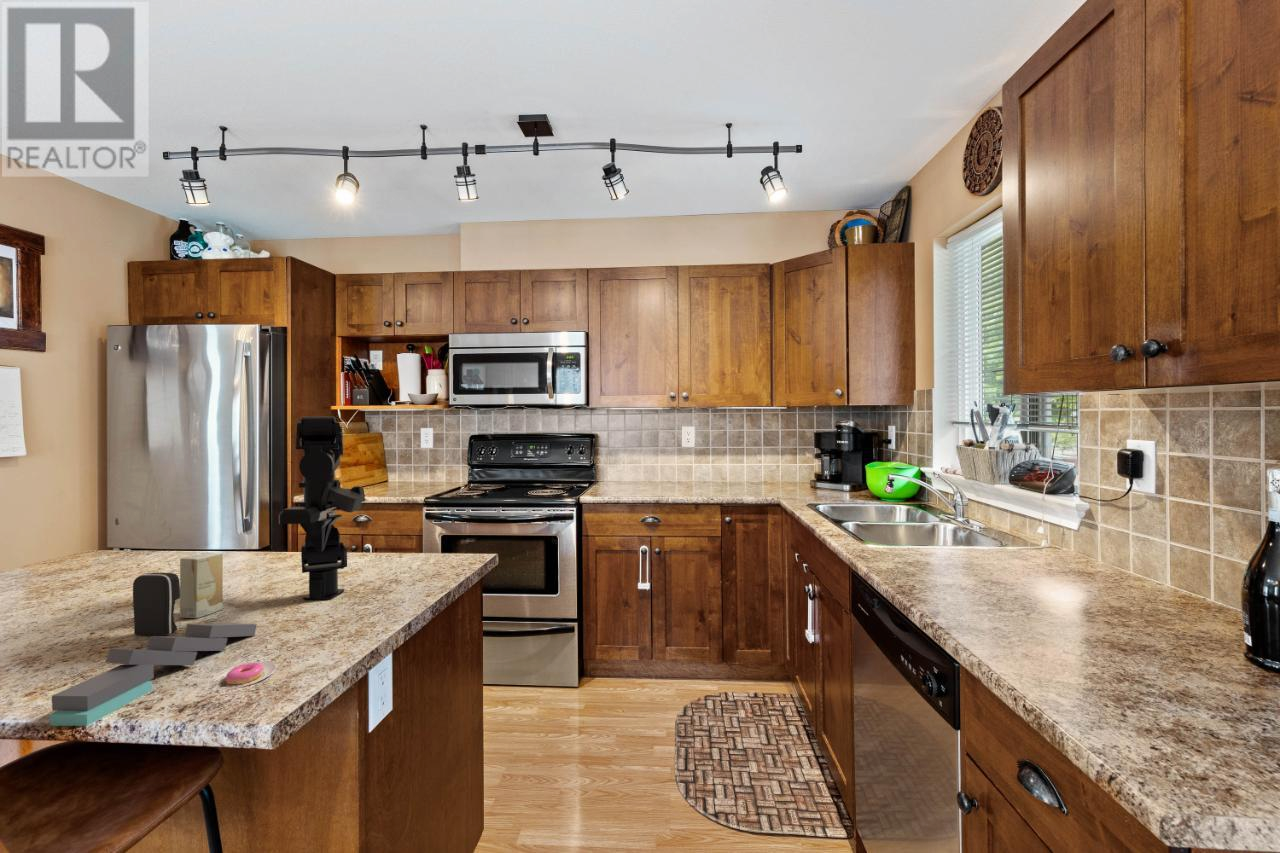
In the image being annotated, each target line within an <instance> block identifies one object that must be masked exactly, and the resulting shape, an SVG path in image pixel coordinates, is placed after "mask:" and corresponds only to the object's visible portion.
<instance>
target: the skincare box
mask: <svg viewBox="0 0 1280 853" xmlns="http://www.w3.org/2000/svg"><path fill="white" fill-rule="evenodd" d="M223 557H224V556H223V553H220V552H219V553H218V552H217V553H216V552H204V553H199V554H195V555H194V554H193V555H191V556H187V557H182V558H180V559H179V560H180V561H179V568H180V569H179V583H180V598H179V618H187V619H188V618H189V619H199V618H201V617H205V616H207V615H208V616H209V615H211V614H214V613H216V612H220V610H221V611H222V610H223V607H224V606H223V604H224V603H223V600H224V598H223V595H224V594H223V587H224V585H223V582H224V580H223V579H224V578H223V560H224V559H223Z"/></svg>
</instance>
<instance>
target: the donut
mask: <svg viewBox="0 0 1280 853" xmlns="http://www.w3.org/2000/svg"><path fill="white" fill-rule="evenodd" d="M276 669H277V665H276V664H275V663H274V662H272V661H266V660H265V661H263V660H262V661H256V662H249V663H243V664H240V665H238V666H234V667H233V668H230V669H228V670H227V671H224V672H222V673H221V674H220V675H219V676H217V677H216V678H215V679H214V680H213V682H212V683H213V684H214V682H215V681H216V680H217V679H218V678H220V677H222V676H224V677H225V682H226V683H227V684H229V685H231V684H239V686H237V687H235V689H240V688H244V686H245V687H247V685H248V686H252V685H253V684H256V683H259V682H261V681H263V680H265V679H266V678H268V677H269V676H271V675H272V674H273V673H274V672H275V671H276ZM263 671H265V672H266V673H267V674H266V676H265V677H264V676H263V677H264V678H263V677H262V678H263V679H262V678H261V679H259V678H260V677H261V676H262V675H263ZM225 675H226V676H225ZM222 678H223V677H222ZM257 678H258V679H259V680H258V679H257ZM220 679H221V678H220ZM218 680H219V679H218ZM218 680H217V681H218ZM217 681H216V682H217ZM253 681H254V682H253ZM216 682H215V683H216ZM243 683H245V684H244V685H243ZM213 684H212V685H213ZM214 685H215V684H214ZM239 687H240V688H239ZM226 688H227V687H226ZM226 690H229V689H228V688H227V689H226Z"/></svg>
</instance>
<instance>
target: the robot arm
mask: <svg viewBox="0 0 1280 853" xmlns="http://www.w3.org/2000/svg"><path fill="white" fill-rule="evenodd" d="M295 437H296V438H295V439H296V440H295V450H296V451H300V450H301V451H304V454H303V455H302V458H301V459H300V462H299V463H298V464H299V465H298V467H299V472H300V475H302V478H303V481H300V482H298V488H303V501H300V502H299V503H298V505H299V506H291V507H288V508H284V509H282V510H281V511H280V512H279V513H278V524H279V525H300V527H301V528H302V529H303V531H304V533H305V537H304V545H301V551H300V553H301V554H300V556H301V558H300V559H301V573H302V574H305V573H308V594H306V595H304V596H302V600H332V599H333V598H336V597H338V596H339V595H341V594H342V593H344V592H345V589H344V588H339V574H338V573H339V571H338V570H340V569H342V570H344V568H347V567H348V548H347V546H345V544H344V542H343V541H342V542H341V535H340V534H341V533H340V531H339V529H338V528H337V527H336V526H335V525H334V523H335V522H337V520H338V519H340V518H342V514H336V511H335V510H339V511H340V510H342V511H343V512H347V513H353V512H355V511H360V509H361V506H362V503H364V502H365V501H367V500H366V498H365V496H366V494H365V489H364V487H362V486H359V485H356V486H353V487H352V488H350V489H349V488H343V487H341V481H340V479H335V477H336V476H335V474H336V473H335V472H336V470H337V469H338V468H339V466H340V465H341V456H344V434H343V426H342V425H341V423H340V422H339V421H336V417H335V416H301V418H300V421H297V422H296V436H295Z"/></svg>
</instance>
